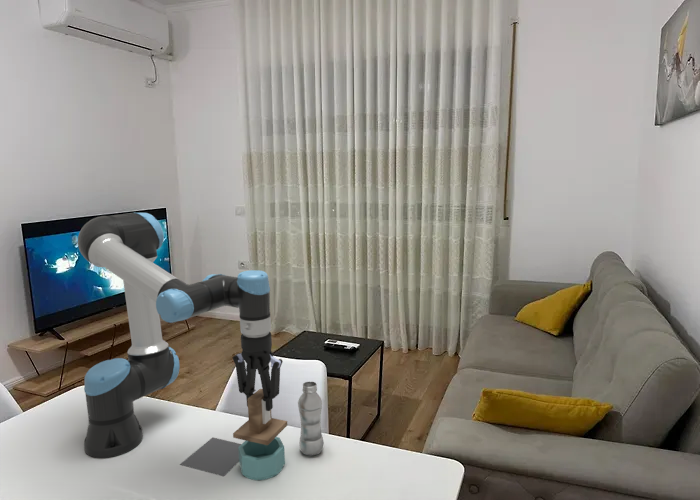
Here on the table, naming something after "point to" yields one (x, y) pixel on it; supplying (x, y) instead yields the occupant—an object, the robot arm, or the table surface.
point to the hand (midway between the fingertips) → (260, 419)
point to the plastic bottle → (310, 420)
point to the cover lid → (259, 423)
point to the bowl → (261, 459)
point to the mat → (214, 457)
